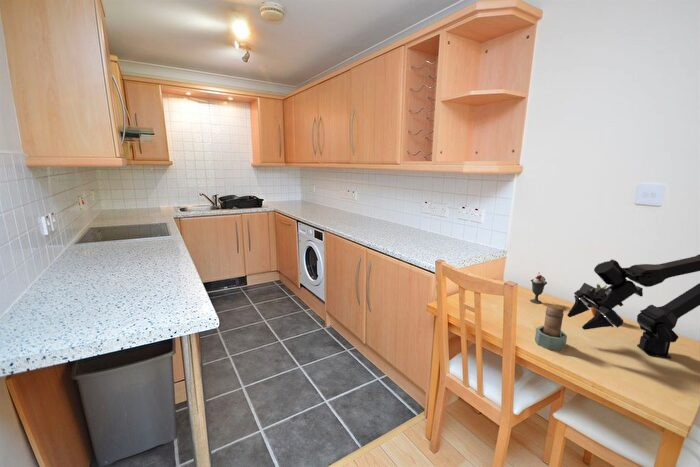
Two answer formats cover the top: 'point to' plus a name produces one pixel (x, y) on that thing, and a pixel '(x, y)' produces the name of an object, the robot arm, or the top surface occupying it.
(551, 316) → the pepper mill
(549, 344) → the pot
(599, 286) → the carrot
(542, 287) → the sundae
